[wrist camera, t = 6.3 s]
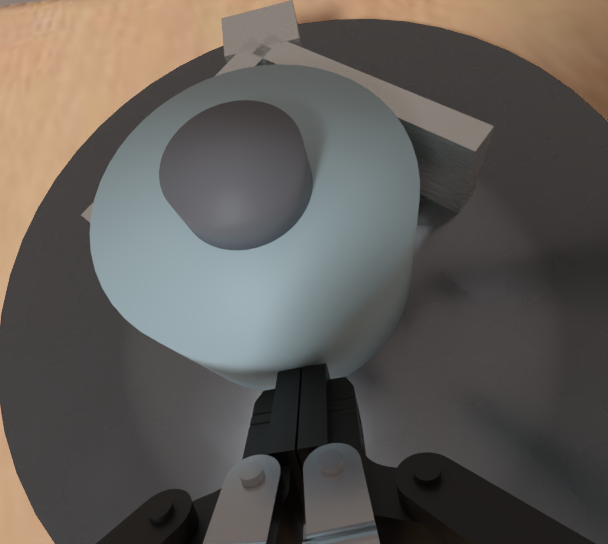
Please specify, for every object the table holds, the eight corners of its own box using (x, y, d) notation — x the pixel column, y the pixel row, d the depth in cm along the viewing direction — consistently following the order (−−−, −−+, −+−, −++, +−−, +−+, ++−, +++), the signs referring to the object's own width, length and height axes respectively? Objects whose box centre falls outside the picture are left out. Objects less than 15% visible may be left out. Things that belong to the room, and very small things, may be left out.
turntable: (846, 614, 13) (1133, 706, 8) (-28, 694, 16) (-218, 797, 11) (524, -9, 25) (558, -129, 20) (56, 106, 28) (-17, 27, 23)
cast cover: (242, 148, 22) (175, 3, 15) (446, 207, 19) (478, 57, 12) (131, 332, 19) (-14, 256, 12) (351, 440, 16) (321, 419, 9)
